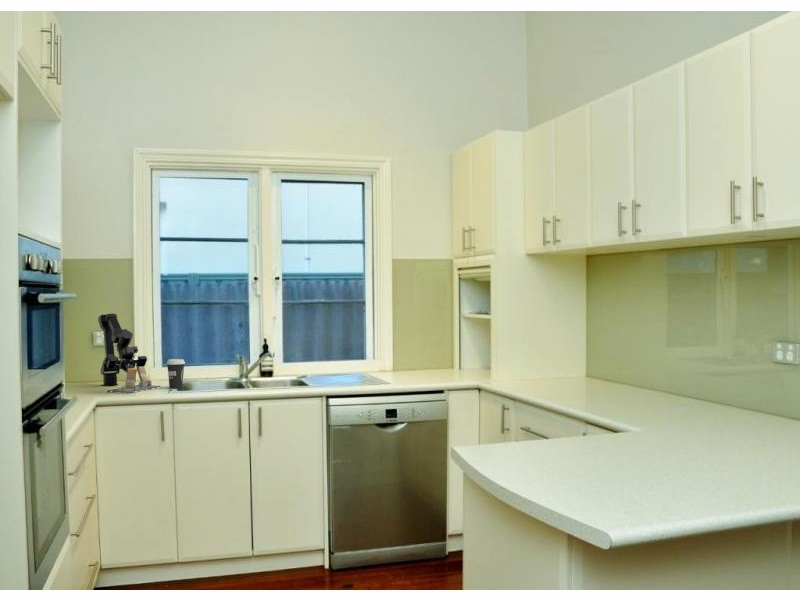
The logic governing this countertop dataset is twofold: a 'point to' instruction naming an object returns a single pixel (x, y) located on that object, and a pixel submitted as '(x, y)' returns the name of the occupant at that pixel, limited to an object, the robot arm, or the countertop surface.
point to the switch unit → (135, 387)
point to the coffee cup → (175, 373)
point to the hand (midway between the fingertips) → (130, 374)
